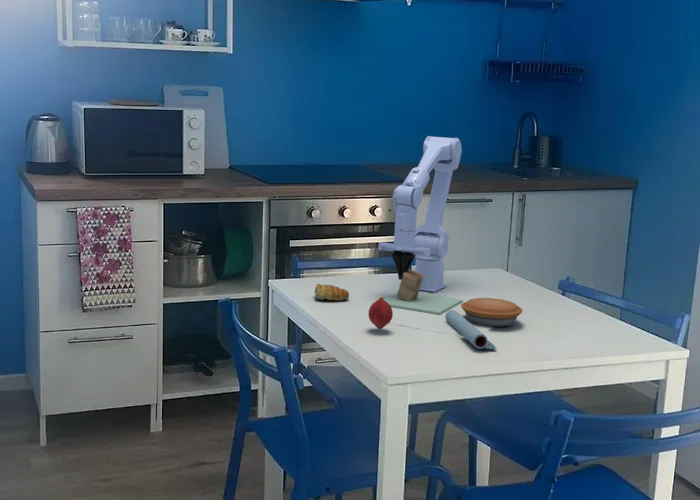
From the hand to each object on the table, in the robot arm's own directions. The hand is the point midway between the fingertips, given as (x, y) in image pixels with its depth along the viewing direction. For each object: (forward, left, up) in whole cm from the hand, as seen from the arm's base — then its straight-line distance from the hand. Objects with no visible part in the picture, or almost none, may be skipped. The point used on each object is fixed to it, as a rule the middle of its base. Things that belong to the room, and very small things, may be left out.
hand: (402, 279), depth 242 cm
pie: (+6, +27, -6) cm, 29 cm away
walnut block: (0, +2, -5) cm, 5 cm away
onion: (+31, +8, -6) cm, 33 cm away
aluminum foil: (+21, +28, -7) cm, 36 cm away
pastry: (+13, -13, -7) cm, 20 cm away
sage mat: (0, +6, -6) cm, 8 cm away
